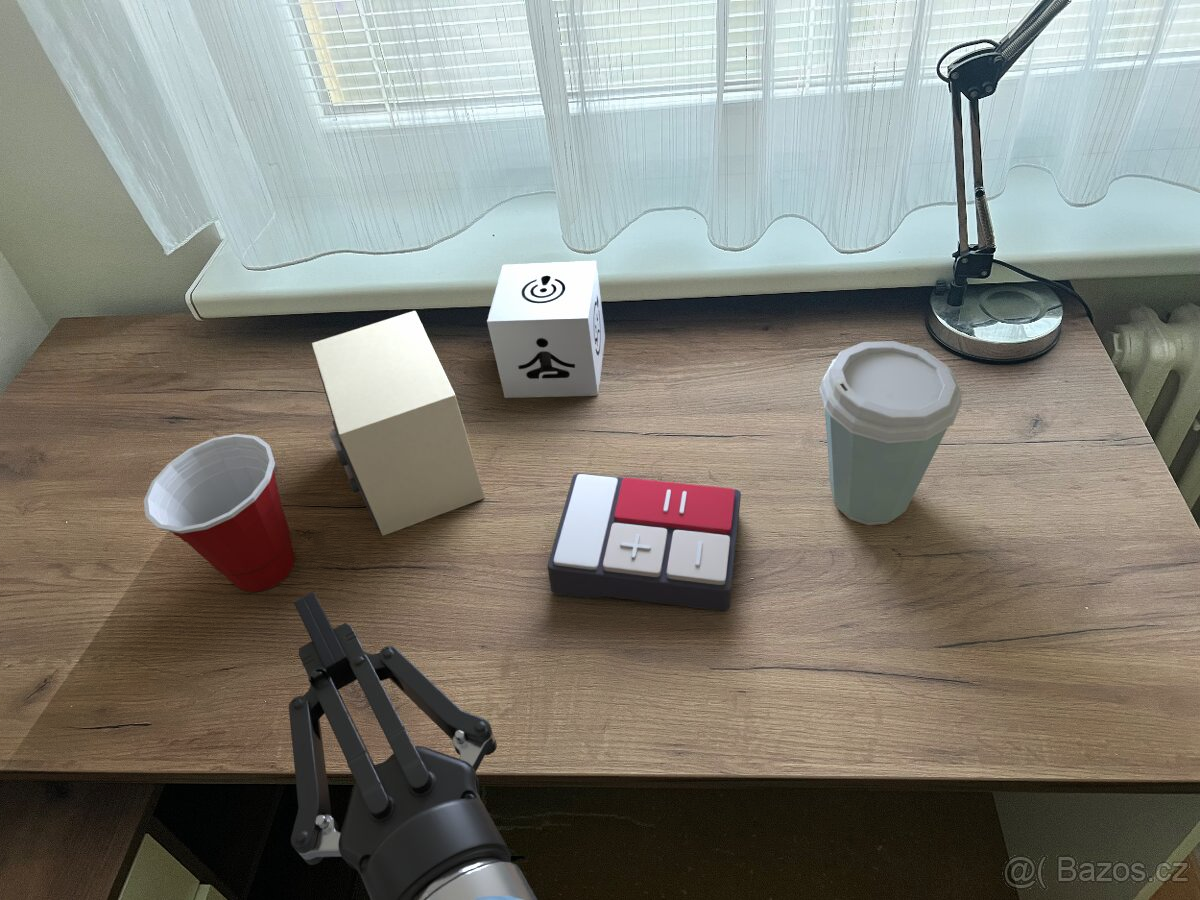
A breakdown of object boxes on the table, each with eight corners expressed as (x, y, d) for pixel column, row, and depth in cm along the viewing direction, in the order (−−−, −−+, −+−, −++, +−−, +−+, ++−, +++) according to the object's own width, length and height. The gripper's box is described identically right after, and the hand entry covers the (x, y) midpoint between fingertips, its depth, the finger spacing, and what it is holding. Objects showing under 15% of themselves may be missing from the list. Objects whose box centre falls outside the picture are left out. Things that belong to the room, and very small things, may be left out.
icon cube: (518, 339, 100) (502, 264, 93) (605, 336, 99) (596, 260, 92) (504, 397, 93) (486, 321, 86) (598, 395, 92) (587, 318, 85)
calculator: (731, 585, 68) (545, 563, 71) (728, 617, 71) (549, 594, 74) (742, 483, 76) (573, 465, 78) (738, 515, 79) (576, 497, 81)
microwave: (372, 540, 80) (327, 438, 71) (343, 446, 90) (300, 346, 81) (485, 498, 83) (455, 395, 74) (445, 411, 92) (415, 310, 83)
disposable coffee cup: (894, 446, 82) (919, 316, 72) (959, 528, 75) (997, 397, 64) (789, 476, 81) (799, 349, 70) (845, 564, 73) (865, 435, 63)
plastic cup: (232, 519, 84) (177, 429, 76) (337, 523, 82) (293, 431, 74) (180, 613, 77) (112, 525, 68) (295, 620, 75) (240, 529, 66)
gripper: (361, 998, 48) (240, 683, 62) (565, 856, 52) (406, 594, 67) (318, 956, 42) (196, 623, 57) (548, 803, 47) (380, 530, 61)
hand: (309, 608), depth 62 cm, fingers closed
